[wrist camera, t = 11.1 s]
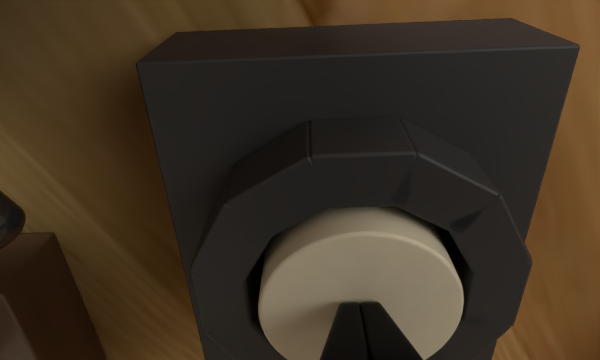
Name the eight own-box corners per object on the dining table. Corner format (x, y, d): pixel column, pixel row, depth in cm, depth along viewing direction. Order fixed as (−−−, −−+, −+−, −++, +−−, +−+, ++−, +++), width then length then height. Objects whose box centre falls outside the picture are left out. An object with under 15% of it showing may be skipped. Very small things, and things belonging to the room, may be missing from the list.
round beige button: (271, 316, 12) (266, 382, 10) (257, 182, 10) (247, 236, 8) (428, 312, 12) (450, 378, 10) (449, 176, 10) (482, 229, 8)
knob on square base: (223, 300, 16) (195, 430, 12) (175, 31, 11) (96, 90, 7) (457, 294, 16) (514, 425, 12) (513, 17, 11) (645, 69, 7)
